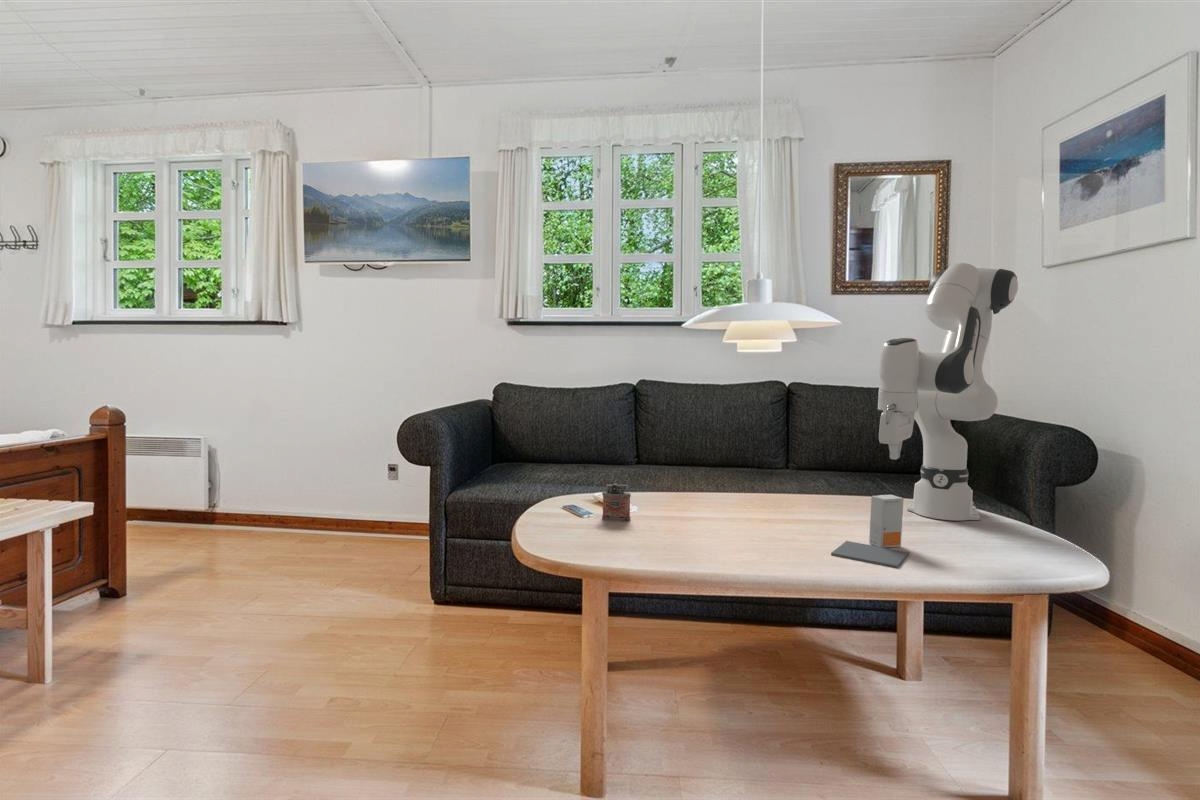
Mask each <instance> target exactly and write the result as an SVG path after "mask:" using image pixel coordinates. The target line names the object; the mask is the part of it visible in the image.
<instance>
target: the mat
mask: <svg viewBox="0 0 1200 800" xmlns="http://www.w3.org/2000/svg"><path fill="white" fill-rule="evenodd" d="M830 555H831V556H834V555H835V557H839V556H840V558H844V557H845V559H849V558H850V559H851V560H854V559H855V561H859V562H864V561H865V563H869V562H870V564H875V565H880V564H881V566H885V565H886V567H890V566H891V568H896V569H898V568H899V567H900V565H901V564H903V563H904V561H905V560H906V558H907V557H908V556H909V555H910V551H907V550H906V551H904V550H900V549H899V550H898V549H893V548H890V547H886V548H884V547H878V546H875V545H872V544H867V543H860V542H854V541H849V540H845V542H843V543H842V544H840V545H839V546H838V547H837V548H835V549H834V550H833V551H832V552H831V553H830ZM904 559H905V560H904ZM898 566H899V567H898Z"/></svg>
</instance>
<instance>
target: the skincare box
mask: <svg viewBox="0 0 1200 800" xmlns="http://www.w3.org/2000/svg"><path fill="white" fill-rule="evenodd" d="M903 514H904V497H901V496H897V495H894V494H879V495H871V500H870V518H869V519H870V520H869V521H870V522H869V538H868V539H869V543H868V544H869V545H872V546H878V547H884V548H896V547H897V548H900V547H901V546H902V532H903Z"/></svg>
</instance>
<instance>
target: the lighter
mask: <svg viewBox="0 0 1200 800" xmlns="http://www.w3.org/2000/svg"><path fill="white" fill-rule="evenodd" d="M628 490H629V485H628V484H618V483H613V484H606V491H602V494H601V495H602V515H601V519H602V520H604V521H610V522H611V521H612V522H625V523H626V522H627V523H628V522H630V521H631V515H630V514H631V496H632V495H631V493H630V492H626V491H628Z"/></svg>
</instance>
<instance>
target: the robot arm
mask: <svg viewBox="0 0 1200 800" xmlns="http://www.w3.org/2000/svg"><path fill="white" fill-rule="evenodd" d="M928 284H929V285H928V296H927V299H926V303H925V306H924V309H925V314H926V316H927V318H928V320H929V321H930V322H931V323H932V324H933V325H935V327H938V328H940V329H942V330H945V331H946V333H945V335H944V338H943V342H942V344H941V347H940V348H941V349H940V352H922V351H921V350H920V349H919V344H918V340H917V339H915V338H911V337H902V338H901V337H900V338H893V339H890V340H887V341H885V342H884V343H883V345H882V350H881V353H880V361H879V378H880V384H879V387H878V396H877V399H878V400H877V410H878V411H882V412H881V415H880V419H879V429H878V430H879V431H878V440H879V444H883V445H888V450H889V458H890V460H898V459H900V457H901V450H902V447H903V441H906V440H907V439H909V438H911V437H912V435H913V430H914V424H915V422H916V423H917V425H918V428H919V430H920V433H921V437H922V445H923V446H922V449H923V451H922V454H923V455H922V464H921V467H920V477H921V478H920V480H918V481H917V482H915V483H914V490H913V500H912V501H913V502H912V504H910V505H907V506H906V511H909V512H911V513H912V512H913V513H915V514H916V515H919V516H921V517H922V516H923V517H925V518H926V517H927V518H929V519H936V520H941V521H942V520H944V521H956V522H957V521H958V522H960V521H980V520H981V515H980V514H979V511H978V509H977V508H976V506H975V502H974V501H973V493H974V492H973V489H972V488H971V487H970V485H968V481H969V469H968V468H967V464H968V462H967V461H968V448H969V446H968V442H967V440H966V438H964V436H963V435H961V434H959V432H956V430H955V429H954V427H953V426H952V423H951V420H952V421H962V422H963V421H964V422H975V421H976V422H977V421H984V420H985V421H986V420H988V419H990V418H991V417H993V415H994V414H995V412H996V411H997V408H998V396H997V393H996V391H995V390H994V389H993V388H992V386H990V385H989V383H987V381H986V379H985V378H984V377H985V376H984V375H983V374H984V373H983V364H984V363H983V362H984V360H985V359H984V358H985V354H986V351H987V347H988V344H989V340H990V337H991V336H990V335H991V333H992V327H993V324H992V323H993V315H996V314H999V313H1000V312H1001V310H1003V309H1006V308H1007V307H1009V306H1010V304H1012V303H1013V301H1014V299H1015V297H1016V296H1017V293H1018V291H1019V290H1018V289H1019V282H1018V276H1017V275H1016V273H1015V272H1014V271H1012V270H1010V269H1009V270H1008V269H1004V268H999V269H995V268H987V267H986V268H985V267H976V266H974V265H972V264H970V263H966V262H959V263H955V264H952V265H950V266H949V267H947V269H942V270H939V271H937V272H936V273H935V274H933V276H931V279H930V281H929V283H928Z"/></svg>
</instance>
